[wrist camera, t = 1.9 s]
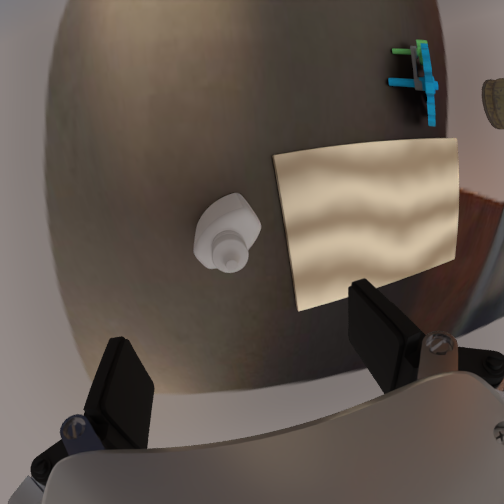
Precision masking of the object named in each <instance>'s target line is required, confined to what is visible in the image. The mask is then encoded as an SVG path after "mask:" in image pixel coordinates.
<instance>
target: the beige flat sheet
mask: <svg viewBox="0 0 504 504" xmlns="http://www.w3.org/2000/svg"><path fill="white" fill-rule="evenodd" d="M272 157H273V163H274V168H275V174H276V179H277V185H278V191H279V196H280V202H281V208H282V214H283V220H284V226H285V232H286V239H287V245H288V252H289V258H290V265H291V272H292V279H293V286H294V293H295V300H296V307H297V310H298V311H302V310H305V309H309V308H312V307H316V306H319V305H323V304H326V303H330V302H333V301H336V300H340V299H343V298H346V297H348V287H349V286H351V284H352V282H353V281H357V280H360V279H363V278H365V279H367V280H368V281H369V282H370V283H371V284H372V285H373V286H374V287H375V288H377V287H380V286H383V285H386V284H389V283H392V282H395V281H398V280H400V279H403V278H406V277H409V276H412V275H414V274H417V273H420V272H422V271H425V270H428V269H430V268H433V267H435V266H438V265H441V264H443V263H446V262H448V261H451V260H453V259H454V258H455V250H456V240H457V228H458V211H459V164H458V147H457V138H423V139H402V140H387V141H374V142H364V143H354V144H345V145H336V146H328V147H321V148H314V149H307V150H300V151H294V152H288V153H282V154H276V155H272Z"/></svg>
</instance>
